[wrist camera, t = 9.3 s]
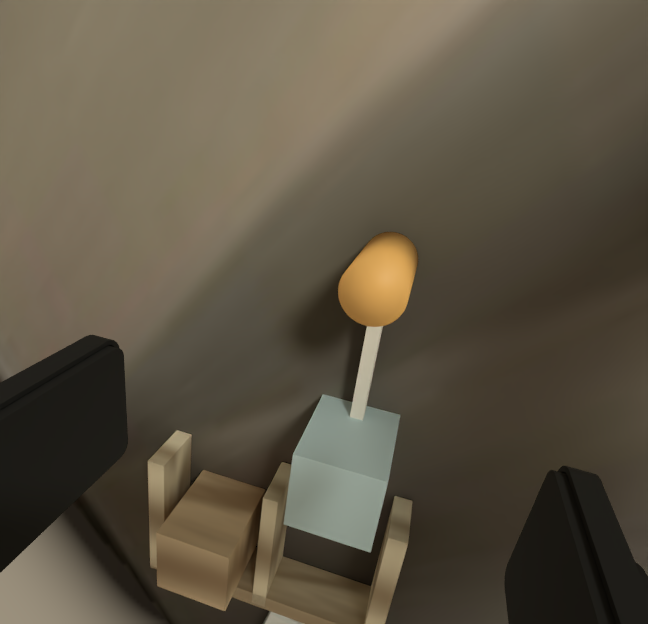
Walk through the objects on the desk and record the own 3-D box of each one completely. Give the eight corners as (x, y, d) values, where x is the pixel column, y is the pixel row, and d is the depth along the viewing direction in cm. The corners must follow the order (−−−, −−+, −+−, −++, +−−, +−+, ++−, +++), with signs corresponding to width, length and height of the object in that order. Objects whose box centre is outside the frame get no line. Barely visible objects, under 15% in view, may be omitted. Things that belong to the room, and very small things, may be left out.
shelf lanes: (176, 430, 33) (147, 461, 30) (412, 501, 30) (408, 544, 26) (176, 530, 37) (150, 567, 34) (383, 602, 34) (376, 650, 30)
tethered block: (349, 223, 24) (320, 248, 19) (442, 241, 23) (440, 272, 18) (313, 455, 30) (283, 524, 25) (385, 476, 30) (370, 552, 24)
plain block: (203, 469, 34) (156, 532, 28) (265, 489, 33) (229, 558, 27) (201, 518, 36) (157, 585, 30) (260, 537, 35) (225, 611, 29)
